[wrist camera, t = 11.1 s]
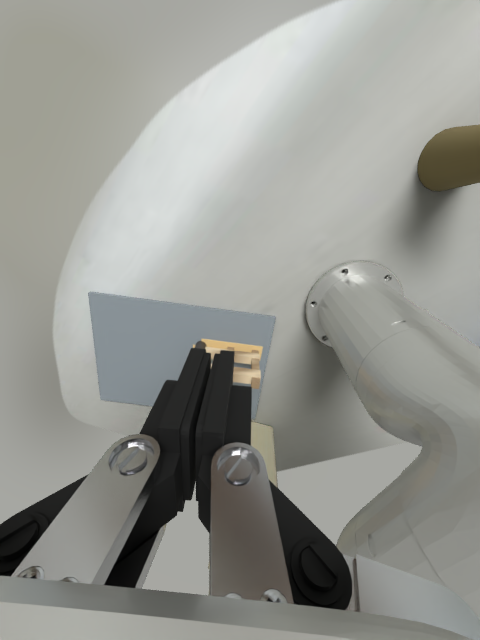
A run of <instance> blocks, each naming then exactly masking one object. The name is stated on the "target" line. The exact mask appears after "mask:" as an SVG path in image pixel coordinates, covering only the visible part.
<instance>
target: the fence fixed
mask: <svg viewBox="0 0 480 640" xmlns="http://www.w3.org/2000/svg"><path fill="white" fill-rule="evenodd" d="M195 348H201V349H206V353H211V359H214V355H215V353H217V354H220V351H221V350H226V351H235V350H234V347H228V348H227V349H220V348H212V347H206V344H205V343H204V342H203V341H198V342H197V343H196V345H195ZM259 360H260V354H259V351H258V350H252V352H243V351H235V355H234V362H236V363H244V364H251V369H248V368H240V367H234V372H233V382H237V383H245V384H251V387H252V388H253V389H259V386H260V380H261V370H260V368H259ZM211 367H212V364H211Z"/></svg>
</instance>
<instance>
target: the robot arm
mask: <svg viewBox="0 0 480 640" xmlns="http://www.w3.org/2000/svg"><path fill="white" fill-rule="evenodd" d="M343 269H345V270H344V272H341V271H342V270H343ZM386 275H387V276H386ZM385 276H386V277H385ZM384 277H385V278H384ZM313 301H314V303H311V302H313ZM305 312H306V320H307V322H308V325H309V328H310V330H311V332H312V333H313V334H314V336H315V337H316V338H317V339H318V340H319V341H320V342H322V343H323V344H325V345H327V346H329V347H332V348H333V349H334V351H335V353H336V355H337V357H338V358H339V360H340V362H341V364H342V366H343V368H344V370H345V372H346V374H347V376H348V377H349V379H350V381H351V383H352V385H353V387H354V389H355V391H356V393H357V395H358V396H359V398H360V400H361V402H362V403H363V405H364V407H365V409H366V411H367V412H368V414H369V415H370V416H371V418H372V419H373V420H374V421H375V422H376V423H377V424H378V425H379V426H380V427H381V428H383V429H384V430H385V431H387V432H388V433H390V434H392V435H394V436H395V437H397V438H399V439H402V440H404V441H407V442H410V443H412V444H415V445H419V446H422V450H421V453H420V454H419V455H418V457H417V458H416V459H415V460H414V461H413V462H412V463H411V464H410V465H409V466H408V467H407V468H406V469H405V470H403V472H402V473H401V475H400V476H399V477H398V478H397V479H395V480H394V481H393V482H392V483H391V484H390V485H389V486H388V487H386V488H385V489H384V490H383V491H382V492H381V493H379V494H378V495H377V496H376V497H375V498H374V499H373V500H372V501H370V502H369V503H368V504H367V505H366V506H365V507H363V508H362V509H361V510H360V511H359V512H358V513H357V514H356V515H355V516H354V517H353V518H352V519H351V520H350V521H349V523H348V524H347V525H346V527H345V528H344V529H343V531H342V533H341V535H340V537H339V539H338V542H337V545H336V546H335V545H334V544H333V543H332V542H331V541H330V540H329V539H328V538H327V537H326V536H325V535H324V534H323V533H322V532H321V531H320V530H319V529H318V528H317V527H316V526H315V525H314V524H313V523H312V522H311V521H310V520H309V519H308V518H307V517H306V516H305V515H304V514H303V513H302V512H301V511H300V510H299V509H298V508H297V507H296V506H295V505H294V504H293V503H292V502H291V501H290V500H289V499H288V498H287V497H286V496H285V495H284V494H283V493H282V492H281V491H280V490H279V489H278V488H277V487H276V486H275V485H274V484H273V483H272V482H271V481H270V480H269V479H268V474H267V469H266V464H265V461H264V459H263V456H262V455H261V454H260V452H259V451H258V450H257V449H255V448H254V447H252V446H251V408H252V387H251V386H238V385H233V372H234V355H235V351H226V350H221V351H220V354H217V353H215V355H214V359H213V363H212V367H211V353H206V349H201V348H191V350H190V352H189V354H188V357H187V359H186V362H185V364H184V366H183V369H182V371H181V374H180V376H179V378H178V381H177V380H166V381H165V383H164V384H163V386H162V389H161V391H160V393H159V395H158V397H157V399H156V401H155V403H154V405H153V407H152V409H151V411H150V413H149V415H148V418H147V420H146V422H145V424H144V426H143V428H142V430H141V432H140V434H135V435H129V436H127V437H124V438H121V439H120V440H118V441H117V442H115V443H114V444H113V445H112V446H111V447H110V448H109V449H108V450H107V451H106V452H105V454H104V455H103V456H102V458H101V459H100V460H99V462H98V463H97V464H96V466H95V467H94V468H93V469H92V471H91V472H90V473H89V474H88V475H87V476H85V477H83V478H81V479H79V480H77V481H76V482H74V483H72V484H70V485H68V486H66V487H65V488H63V489H61V490H59V491H57V492H56V493H54V494H52V495H50V496H48V497H46V498H45V499H43V500H41V501H39V502H37V503H35V504H34V505H32V506H30V507H28V508H26V509H25V510H23V511H21V512H19V513H17V514H15V515H14V516H12V517H11V518H9V519H8V520H6V521H5V522H3V523H2V524H0V640H480V347H478V346H477V345H475V344H474V343H472V342H471V341H469V340H468V339H466V338H465V337H463V336H462V335H460V334H459V333H457V332H456V331H454V330H453V329H451V328H450V327H448V326H447V325H445V324H444V323H442V322H441V321H440V320H438V319H437V318H435V317H434V316H432V315H431V314H429V311H428V309H422V308H420V307H419V306H417V305H416V304H414V303H413V302H411V301H410V300H409V299H407V298H406V297H404V293H403V288H402V286H401V284H400V281H399V280H398V279H397V277H396V276H395V275H394V274H393V273H392V272H391V271H389V270H388V269H387V268H385V267H383V266H381V265H379V264H376V263H373V262H367V261H353V262H349V263H344V264H342V265H339V266H337V267H334V268H333V269H331V270H330V271H328V272H327V273H325V274H324V275H323V276H322V277H321V278H320V279H319V280H318V281H317V282H316V283H315V285H314V286H313V288H312V289H311V291H310V293H309V295H308V299H307V302H306V310H305ZM195 481H196V501H198V506H199V507H198V510H199V512H198V513H199V519H200V520H201V522H202V523H203V525H204V526H205V527H206V529H207V530H208V532H209V596H207V595H198V594H188V593H177V592H167V591H157V590H146V589H142V586H143V584H144V582H145V579H146V577H147V574H148V572H149V569H150V567H151V564H152V562H153V559H154V557H155V554H156V552H157V549H158V547H159V545H160V542H161V540H162V537H163V535H164V532H165V528H166V523H168V522H169V521H170V520H171V519H172V518H174V517H175V516H177V512H178V511H180V512H183V508H184V503H185V500H191V499H192V495H193V491H194V485H195Z"/></svg>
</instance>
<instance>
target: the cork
mask: <svg viewBox="0 0 480 640" xmlns="http://www.w3.org/2000/svg"><path fill="white" fill-rule="evenodd" d="M418 175H419V179H420V181H421V183H422V184H423V185H424V187H426V188H428V189H430V190H432V191H444V190H449V189H453V188H457V187H462V186H466V185H471V184H475V183H479V182H480V125H472V126H462V127H454V128H449V129H445V130H443V131H442V132H440V133H438V134H436V135H435V136H434V137H433V138H432V139H431V140H430V141H429V142H428V143H427V144H426V146H425V148H424V149H423V151H422V152H421V155H420V158H419V161H418Z"/></svg>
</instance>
